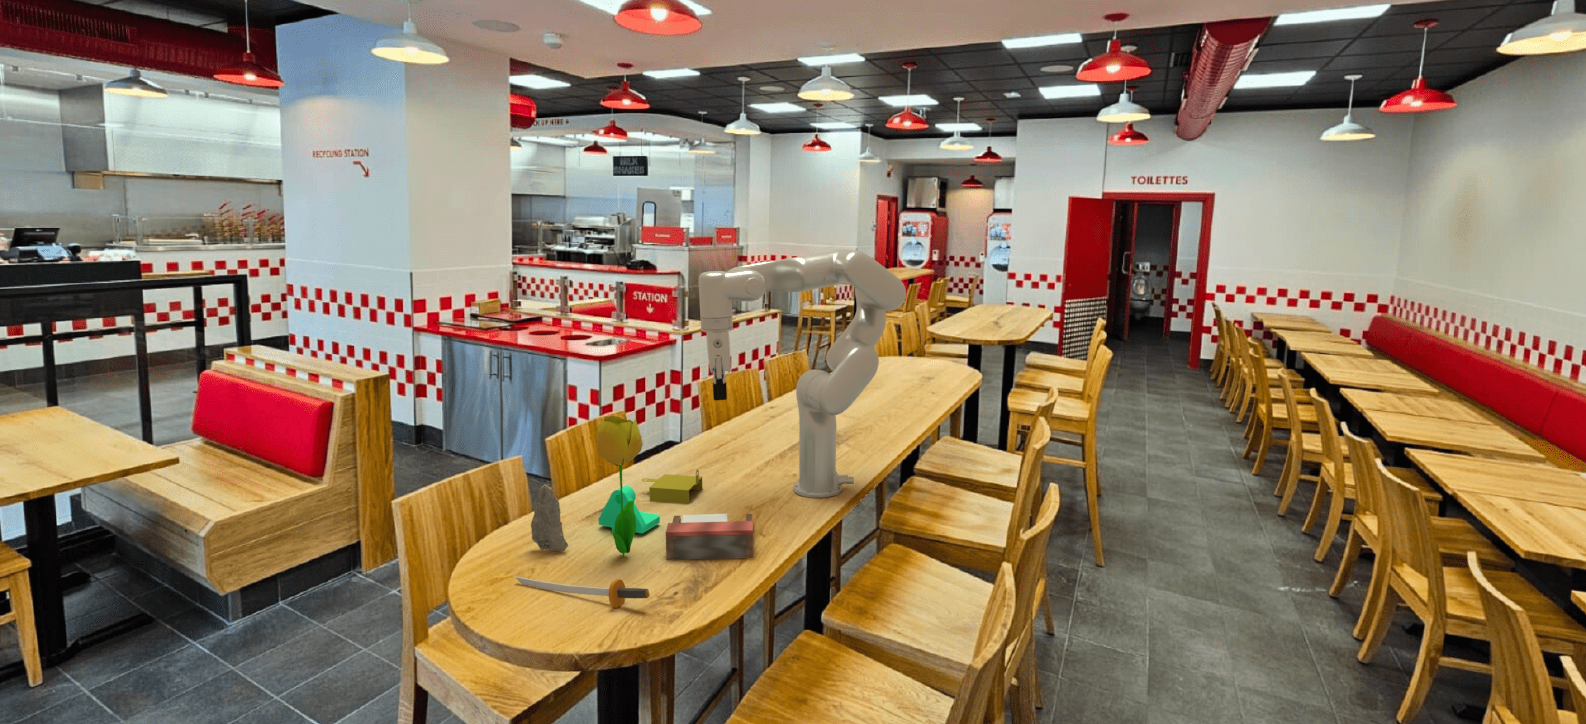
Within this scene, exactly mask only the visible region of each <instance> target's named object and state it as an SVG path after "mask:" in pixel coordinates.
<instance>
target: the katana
mask: <svg viewBox="0 0 1586 724" xmlns="http://www.w3.org/2000/svg"><path fill="white" fill-rule="evenodd" d="M514 577H515V579H516V580H517V581H518V582H519V584H521V585H523V586H526V585H529V586H528V587H531V586H533V587H532V588H535V587H536V588H535V589H541V590H546V591H552V592H559V593H567V594H575V595H576V594H577V595H578V594H579V595H590V596H591V595H593V596H603V597H608V600H609V604H610V606H611V607H612V608H614V609H618V608H620V607H621V606H622V605H623V604H624V603H625V601H626V599H649V597H650V596H651V595H650V590H649V589H648V588H640V587H639V588H638V587H626V585H625V583H624V581H623V579H621V578H620V579H619V578H615V579H614V580H612V582H611V583H610V585H609V588H608V587H595V586H585V585H584V586H582V585H569V584H564V583H563V584H562V583H557V582H556V583H555V582H550V581H548V582H547V581H545V580H544V581H542V580H537V579H532V578H531V579H530V578H526V577H521V576H516V575H515V576H514ZM621 604H622V605H621ZM620 605H621V606H620ZM619 606H620V607H619Z"/></svg>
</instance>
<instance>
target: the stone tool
mask: <svg viewBox="0 0 1586 724" xmlns="http://www.w3.org/2000/svg"><path fill="white" fill-rule="evenodd" d="M536 495H537V496H536V498H535V500H534V504H533V509H534V510H533V517H532V520H531V522H530V528H531V531H530V532H531V539H532V541H533V542H534V543H535V544H537V546H538V548H539V549H540V550H541V551H546V550H549V551H550V552H560V553H564V552H565V551H566V549H567V548H568V547H569V544H568V542H567V540H566V539H565V535H564V531H563V526H562V525H563V522H562V521H561V506H560V501H559V498H557V496H556V495H555V492H554V490H553V488H552V487H550V485H548V484H546V483H544V484H543V485H541V486H540V487H539V489H538V491H537V494H536Z"/></svg>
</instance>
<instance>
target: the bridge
mask: <svg viewBox="0 0 1586 724" xmlns="http://www.w3.org/2000/svg"><path fill="white" fill-rule="evenodd" d="M681 519H682V518H681V515H673V518H672V522H667V526H666V529H665V549H666V550H665V553H666V554H665V555H666V556H665V558H666V559H665V560H675V561H676V560H680V561H681V560H705V559H706V560H710V559H711V560H713V559H714V560H715V559H717V560H719V559H746V558H754V524H753V522H754V521H753V519H754V518H753V513H746V514H745V520H744V521H742V520H740V521H738V520H737V521H736V520H733V521H732V520H731V521H727V522H688V523H682V520H681Z"/></svg>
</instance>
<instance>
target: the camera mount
mask: <svg viewBox="0 0 1586 724" xmlns="http://www.w3.org/2000/svg"><path fill="white" fill-rule="evenodd" d="M622 497H623V508H624V506H625V505H626V504H627V503H628V502H629V501H634V503H633V505H634V513H635V519H636V530H635V533H638V534H644V533H645V532H647V531H649V530H651V529H653V528H654V527H655V526H657V525H658V524H660V523H661V515H660V514H657V513H651V512H645V511H640V510H639V508H638V507H637V505H636V503H635V501H636V498H637V495H636V491H635V489H633V487H632V486H631V485H622ZM620 511H621V491H620V487H619V488H617V489H615V490H613V491H612V492H611V494H610V496H609V498H608V500H607V502H606V503H605V506H604V507H603V510H602V511H601V513H600V514H599V517H598V525H599V526H603V527H608V528H611V531H612V532H614V533H615V521H616V518H617V516H618V514H619V512H620Z"/></svg>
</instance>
